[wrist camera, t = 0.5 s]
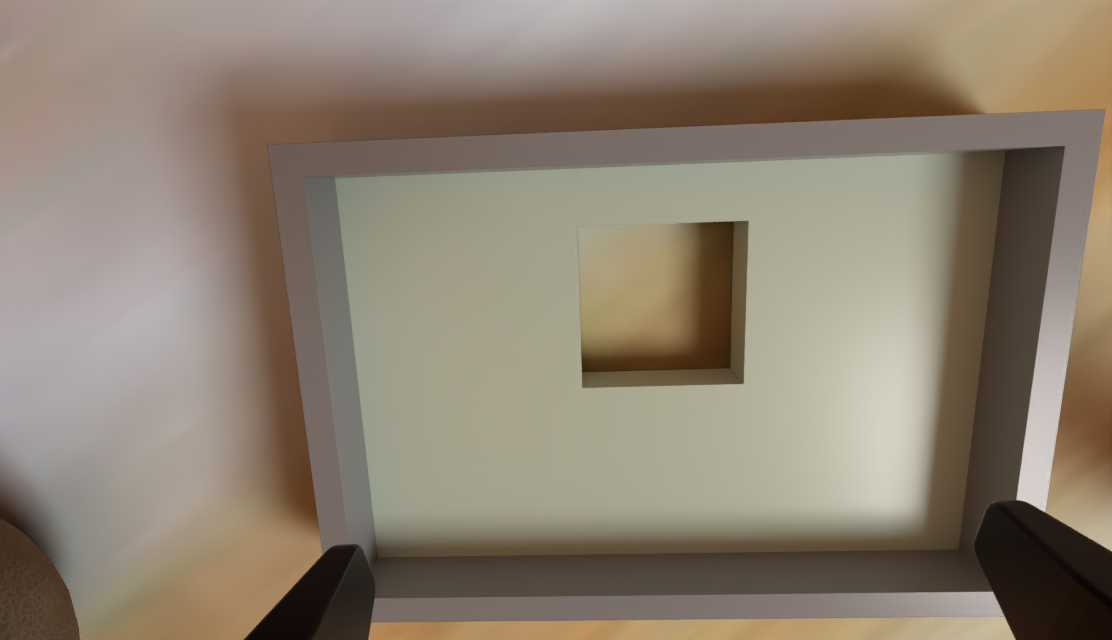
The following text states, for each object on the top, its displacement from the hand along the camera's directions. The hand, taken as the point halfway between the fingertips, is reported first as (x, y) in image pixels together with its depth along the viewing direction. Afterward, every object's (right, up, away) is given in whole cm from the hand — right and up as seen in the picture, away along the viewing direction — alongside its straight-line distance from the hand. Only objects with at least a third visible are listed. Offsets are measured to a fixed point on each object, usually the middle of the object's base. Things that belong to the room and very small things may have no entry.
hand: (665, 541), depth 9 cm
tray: (+2, +2, +15) cm, 16 cm away
